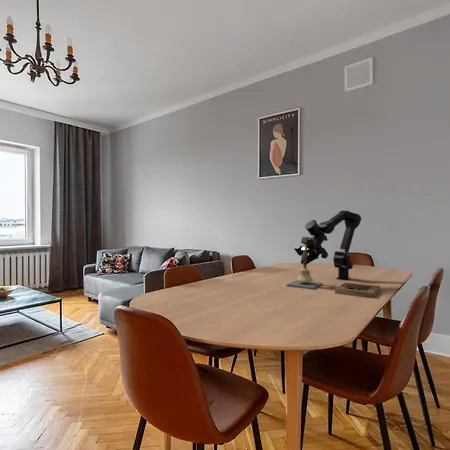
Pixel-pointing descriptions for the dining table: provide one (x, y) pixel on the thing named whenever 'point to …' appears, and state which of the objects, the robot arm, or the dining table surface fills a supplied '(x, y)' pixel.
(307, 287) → the grey rubber mat
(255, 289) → the dining table surface
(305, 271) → the hand bell
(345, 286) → the walnut well board
